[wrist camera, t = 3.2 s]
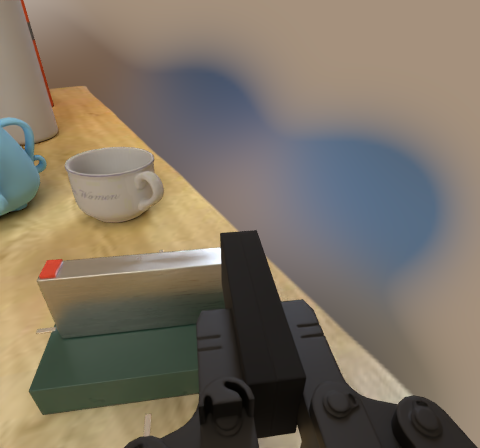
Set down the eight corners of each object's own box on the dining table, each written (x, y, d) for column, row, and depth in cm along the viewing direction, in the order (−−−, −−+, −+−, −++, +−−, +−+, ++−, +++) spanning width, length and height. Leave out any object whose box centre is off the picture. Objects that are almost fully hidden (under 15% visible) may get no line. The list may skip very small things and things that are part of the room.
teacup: (67, 210, 47) (50, 157, 43) (135, 186, 54) (126, 137, 50) (116, 254, 39) (101, 193, 35) (189, 219, 46) (185, 164, 41)
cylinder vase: (47, 124, 81) (8, 0, 67) (68, 136, 74) (30, 0, 60) (-13, 136, 74) (-70, -1, 60) (4, 151, 66) (-56, -1, 53)
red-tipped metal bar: (239, 301, 29) (239, 242, 26) (242, 318, 27) (243, 259, 24) (68, 319, 27) (44, 259, 24) (61, 339, 26) (34, 278, 22)
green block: (247, 265, 38) (247, 242, 36) (291, 439, 23) (296, 414, 21) (77, 281, 35) (68, 257, 34) (0, 486, 20) (-22, 463, 19)
